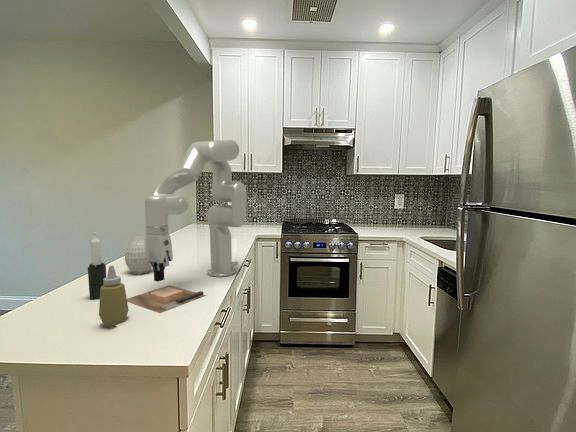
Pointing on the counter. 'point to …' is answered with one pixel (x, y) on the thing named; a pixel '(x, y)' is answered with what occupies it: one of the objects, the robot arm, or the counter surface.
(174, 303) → the turner
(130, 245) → the vase
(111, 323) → the squeeze bottle
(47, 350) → the counter surface
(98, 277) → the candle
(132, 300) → the board
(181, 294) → the tile
